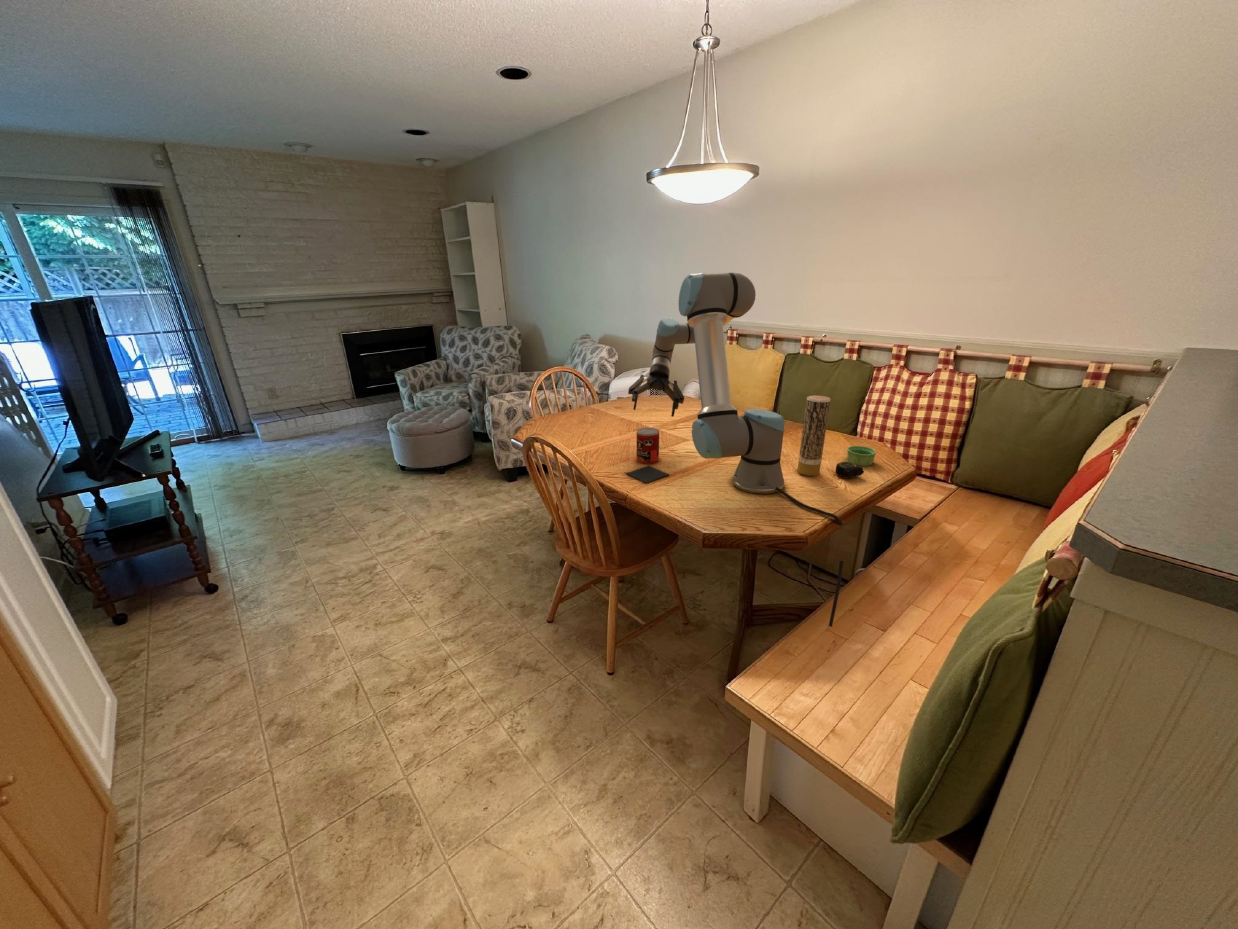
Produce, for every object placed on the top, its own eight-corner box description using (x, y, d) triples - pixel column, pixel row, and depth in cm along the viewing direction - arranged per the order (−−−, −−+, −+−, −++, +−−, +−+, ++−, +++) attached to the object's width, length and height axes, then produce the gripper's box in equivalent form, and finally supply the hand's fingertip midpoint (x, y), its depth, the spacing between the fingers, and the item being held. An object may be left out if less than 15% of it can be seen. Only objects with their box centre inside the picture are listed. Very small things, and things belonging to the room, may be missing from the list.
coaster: (669, 475, 156) (669, 474, 156) (646, 483, 150) (646, 482, 150) (648, 466, 163) (648, 465, 163) (626, 474, 158) (626, 473, 158)
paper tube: (815, 469, 159) (826, 395, 150) (821, 477, 153) (833, 400, 144) (794, 468, 160) (804, 395, 151) (800, 476, 153) (810, 400, 144)
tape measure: (846, 481, 149) (848, 470, 148) (829, 473, 155) (831, 463, 154) (862, 478, 152) (865, 467, 150) (846, 470, 158) (848, 459, 156)
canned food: (632, 460, 170) (631, 430, 166) (648, 454, 175) (648, 425, 170) (646, 465, 164) (647, 435, 160) (663, 460, 169) (663, 430, 165)
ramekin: (850, 466, 161) (852, 454, 159) (841, 457, 169) (843, 445, 168) (878, 467, 160) (880, 454, 158) (868, 457, 168) (870, 445, 167)
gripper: (690, 384, 183) (686, 424, 170) (626, 373, 184) (617, 411, 170) (694, 369, 177) (691, 409, 164) (628, 357, 178) (619, 396, 164)
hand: (653, 410), depth 167 cm, fingers open, 13 cm apart
